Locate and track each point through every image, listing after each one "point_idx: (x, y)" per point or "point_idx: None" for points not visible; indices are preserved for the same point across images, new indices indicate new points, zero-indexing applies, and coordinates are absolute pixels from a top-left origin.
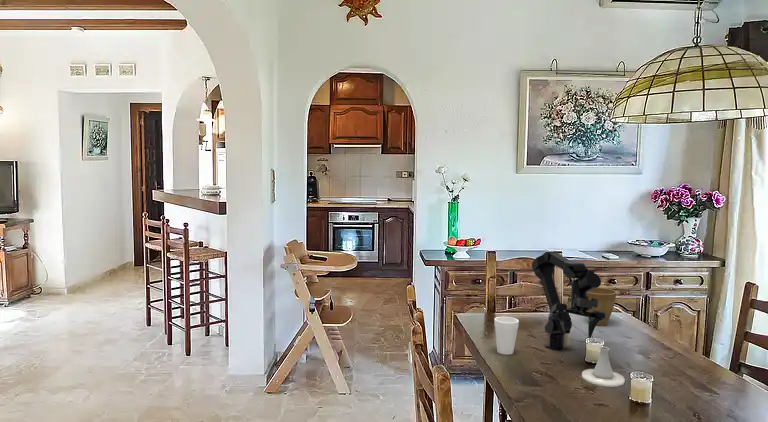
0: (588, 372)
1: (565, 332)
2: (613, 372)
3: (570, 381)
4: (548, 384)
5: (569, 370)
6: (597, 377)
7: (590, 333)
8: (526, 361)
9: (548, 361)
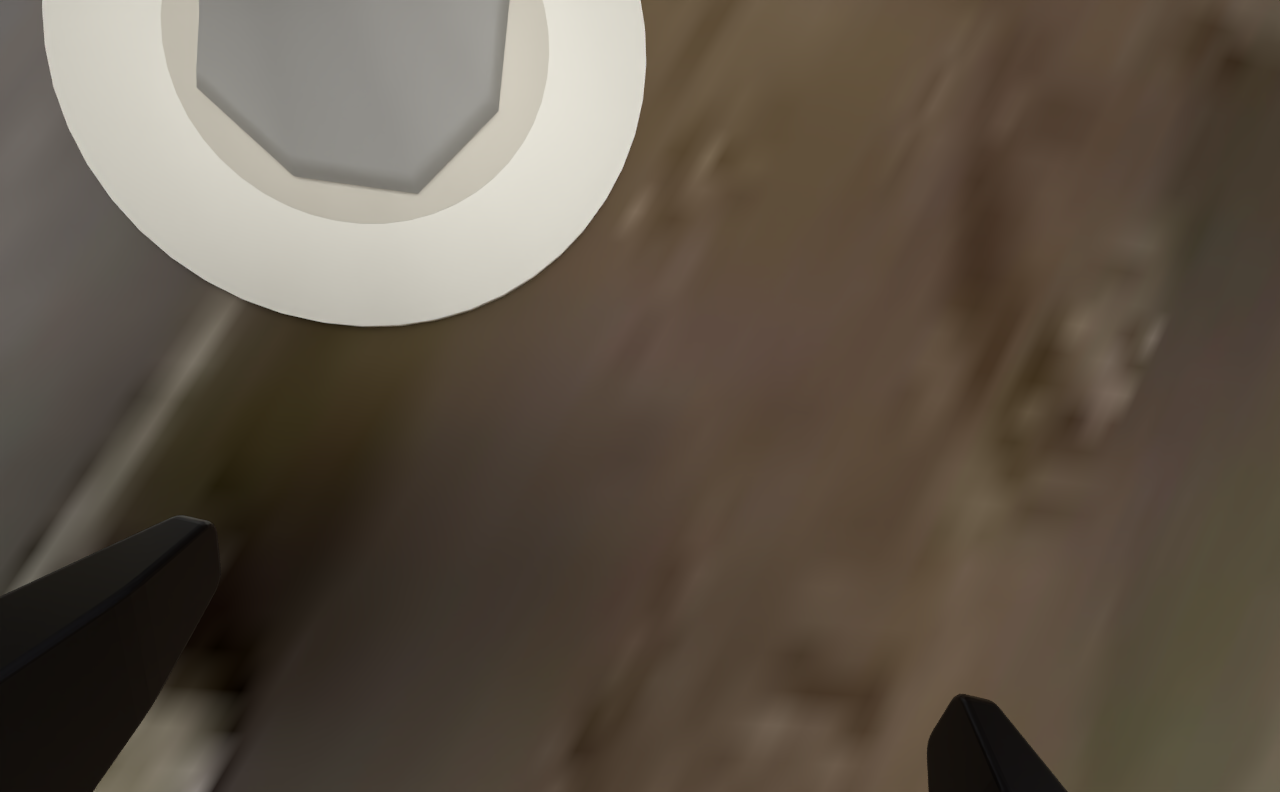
0: (498, 208)
1: (959, 704)
2: (102, 135)
3: (834, 72)
4: (1113, 47)
5: (658, 413)
6: None
7: (127, 580)
8: None
9: (764, 748)
